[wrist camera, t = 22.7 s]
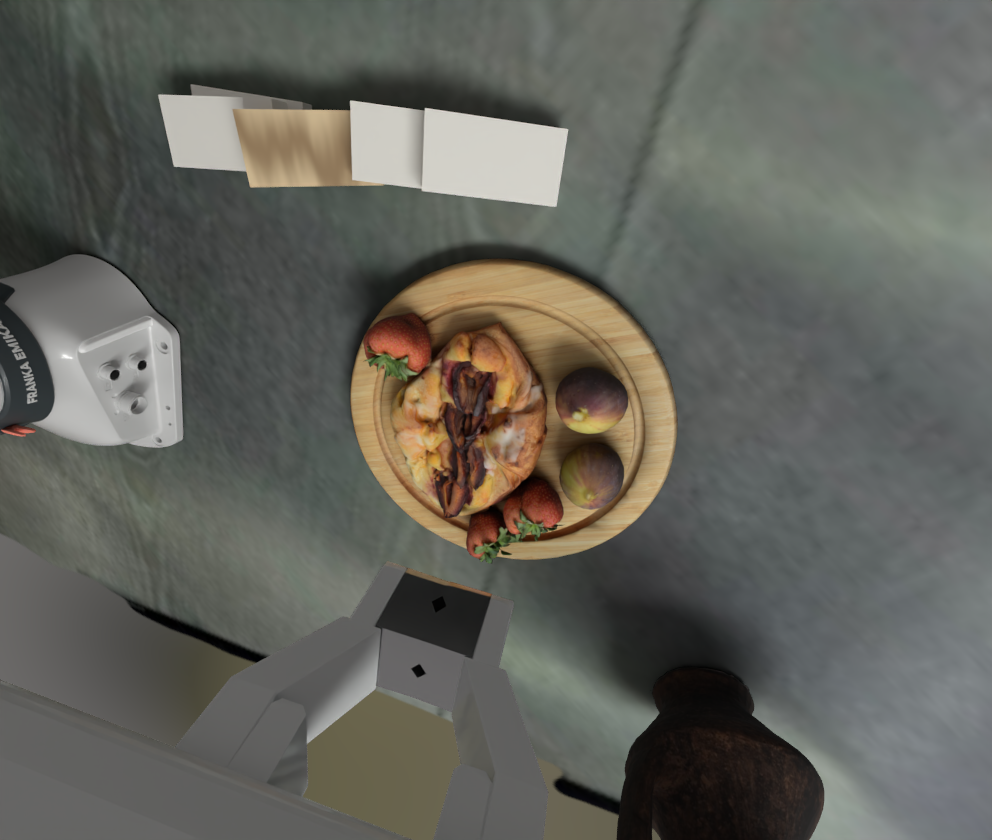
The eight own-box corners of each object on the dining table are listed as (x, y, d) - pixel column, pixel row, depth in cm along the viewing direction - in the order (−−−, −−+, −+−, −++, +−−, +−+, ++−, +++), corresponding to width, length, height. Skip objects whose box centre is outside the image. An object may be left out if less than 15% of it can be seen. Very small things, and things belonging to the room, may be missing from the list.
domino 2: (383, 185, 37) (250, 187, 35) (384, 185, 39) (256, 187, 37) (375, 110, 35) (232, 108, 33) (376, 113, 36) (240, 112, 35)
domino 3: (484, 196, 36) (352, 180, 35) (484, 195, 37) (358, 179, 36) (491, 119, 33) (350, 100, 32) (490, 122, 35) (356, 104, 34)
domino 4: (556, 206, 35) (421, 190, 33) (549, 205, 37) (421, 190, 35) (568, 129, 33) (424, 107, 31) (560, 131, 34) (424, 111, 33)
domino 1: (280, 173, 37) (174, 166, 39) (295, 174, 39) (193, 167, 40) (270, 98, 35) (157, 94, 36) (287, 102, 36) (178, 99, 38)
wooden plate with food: (300, 348, 48) (245, 377, 41) (588, 180, 35) (582, 179, 28) (455, 573, 58) (432, 628, 50) (723, 503, 45) (744, 564, 38)
